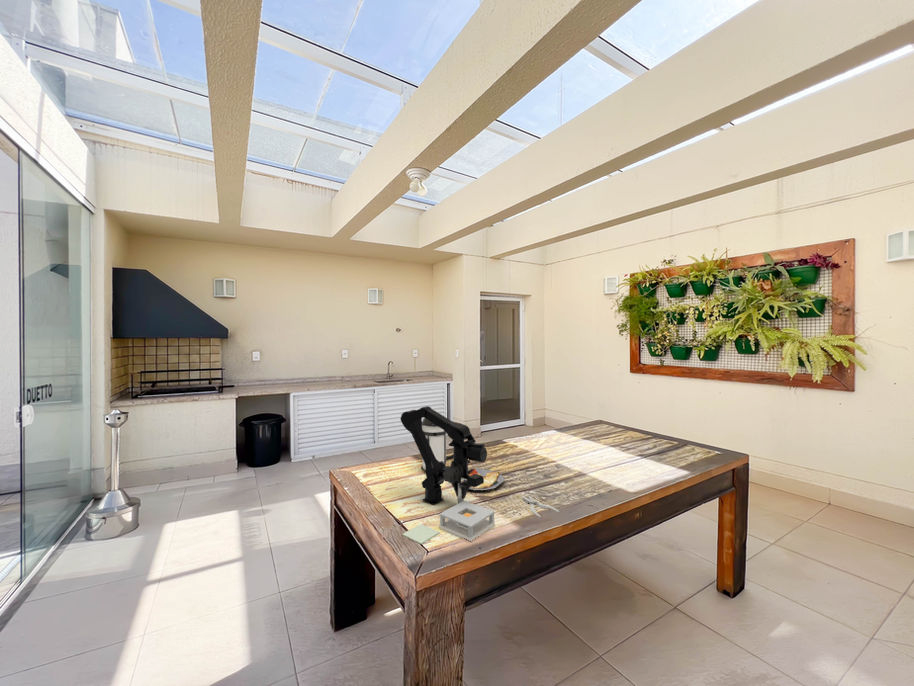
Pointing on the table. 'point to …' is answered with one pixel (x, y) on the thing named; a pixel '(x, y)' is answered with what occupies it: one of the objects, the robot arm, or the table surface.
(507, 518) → the table surface
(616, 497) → the table surface
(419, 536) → the mat
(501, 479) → the food plate
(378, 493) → the table surface
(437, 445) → the coffee press
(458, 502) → the shiny metal cylinder
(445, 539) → the table surface
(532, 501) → the pliers
